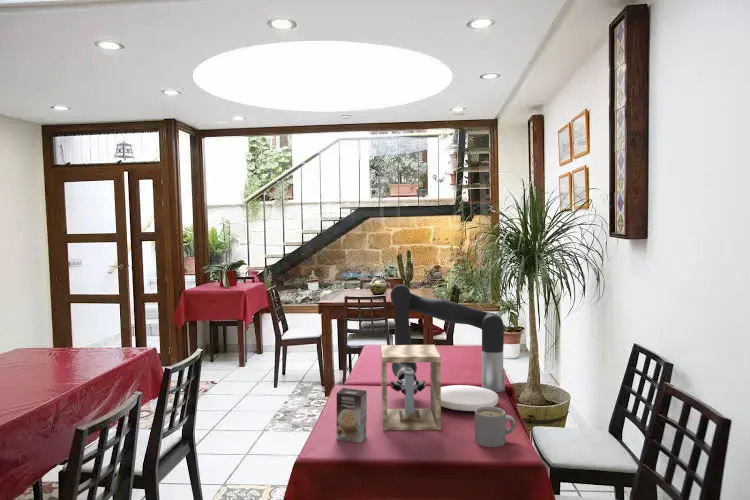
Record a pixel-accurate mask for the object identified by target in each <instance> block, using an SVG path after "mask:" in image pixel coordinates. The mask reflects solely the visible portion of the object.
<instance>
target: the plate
mask: <svg viewBox="0 0 750 500" xmlns="http://www.w3.org/2000/svg"><path fill="white" fill-rule="evenodd" d="M498 402H499V395H498V393H497V392H493V391H491V390H489V389H485V388H482V386H481V387H480V386H476V385H466V384H465V385H463V384H462V385H461V384H457V385H455V384H453V385H445V386H441V407H443V408H446V409H450V410H453V411H461V412H462V411H463V412H466V411H467V412H475V409H477V408H479V407H496V406H497V404H498Z"/></svg>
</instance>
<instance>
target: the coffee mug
mask: <svg viewBox="0 0 750 500" xmlns="http://www.w3.org/2000/svg"><path fill="white" fill-rule="evenodd" d="M507 421H509V422H510V426H509V428H507V427H506V423H507ZM515 428H516V421H515V419H514V417H513V416H511V415H507V414H506V411H505V410H504V409H503V408H500V407H496V406H494V407H479V408H477V409H475V411H474V442H475V443H476V444H478V445H479V446H482V447H485V448H486V447H488V448H498V447H499V448H500V447H502V446H504V445H505V444H506V436H507V435H510V434H511V433H513V432H514V431H515Z"/></svg>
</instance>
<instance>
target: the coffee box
mask: <svg viewBox="0 0 750 500" xmlns="http://www.w3.org/2000/svg"><path fill="white" fill-rule="evenodd" d="M367 396H368V395H367V390H366V389H365V390H364V389H356V388H350V387H349V388H347V387H342V388H341V389H340V390H338V391H337V392H336V437H335V438H336V439H335V440H337V441H345V442H351V443H352V442H353V443H358V444H361V443H362V442H363V441H364V440H365V439H366V437H367V412H368V411H367V404H368V403H367V399H368V398H367Z"/></svg>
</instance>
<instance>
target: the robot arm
mask: <svg viewBox="0 0 750 500" xmlns="http://www.w3.org/2000/svg"><path fill="white" fill-rule="evenodd" d="M390 301H391V304H392V306H393V312H394V313H393V314H394V345H412V336H411V325H410V313H409V311H413V312H415V313H420V314H423V315H425V316H428V317H431V318H435V319H437V320H440V321H443V322H448V323H452V324H459V325H467V326H468V325H469V326H471V327H475V328H478V329H480V330H481V388H485V389H489V390H491V391H493V392H495V393H500V392H505V382H506V380H505V371H506V370H505V368H504V344H505V341H504V340H505V339H504V338H505V325H504V321H503V319H502V317H501V316H500V315H499V314H497V313H494V312H488V311H484V310H478V309H474V308H471V307H469V306H465V305H463V304H460V303H457V302H454V301H451V300H447V299H444V298H439V297H423V296H420V295H418V294H414V293H411V291H410V289H409V287H407V286H406V285H404V284H397V285H395V286H394V287H393V288H392V289H391V292H390ZM391 370H392V374H393V375H394V377H396V379H397V381H394V380H391V381H390V388H391V389H393V390H394V391H396V392H397V393H398V392H400V391H401V393H402V394H403V395H404V396H405V395H406V388H405V371H413V375H414V395H416V394H418V392H422V391H423V390H425V388H426V380H420V381H419V380H418V378H417V375H416V373H417V371H418V366H417V363H391Z"/></svg>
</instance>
